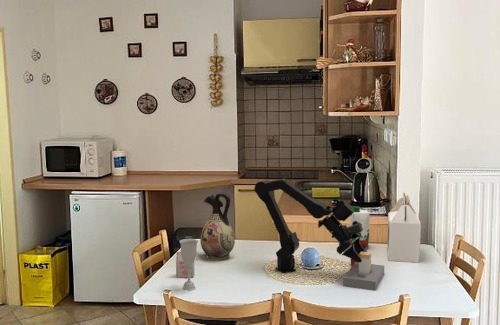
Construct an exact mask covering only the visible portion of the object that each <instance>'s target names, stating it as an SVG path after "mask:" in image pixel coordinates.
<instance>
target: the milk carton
mask: <svg viewBox="0 0 500 325" xmlns="http://www.w3.org/2000/svg"><path fill="white" fill-rule="evenodd" d="M351 206H352V205H351ZM352 207H353V209H354V211H355V212H354V213H353V214H352V215H351V216H349V226H351V225H352V223H353V222H354V221H358V222H360V223H361V224H362V228H363V230H362V232H360V233H359V234H360V236H359V237H363V238H365V239H366V241H367V251H368V249H369V242H370V223H371V222H370V220H371V219H370V218H371V217H370V212H369V211H368V210H367V209H361V206H356V205H354V206H352Z"/></svg>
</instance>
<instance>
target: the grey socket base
mask: <svg viewBox="0 0 500 325" xmlns="http://www.w3.org/2000/svg"><path fill="white" fill-rule="evenodd" d="M384 275H385V265H382V264H375V263H373V264H372V263H371V272H370V274H367V273H359V263H357V262H355V263H354V264H353V266H352V265H351V267H350V268H349V270H348V271H347V273H346V274H345V275H344V276H343V281H342V282H343V287H345V288H354V289H355V288H356V289H361V290H368V291H376V290H377V288H378V286H379V285H380V282H381V280H382V279H383V277H384Z"/></svg>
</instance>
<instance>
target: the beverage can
mask: <svg viewBox="0 0 500 325" xmlns="http://www.w3.org/2000/svg"><path fill="white" fill-rule="evenodd" d="M357 238H359V237H357ZM360 243H361V245H362V247H363V249H364V251H365V252H368V250H367V241H366V239H365V238H363V237H361V238H360ZM357 254H358V255H359V253H358V252H357ZM355 262H357V263H359V262H358V261H355V260H353V259H351V258H350V265H351V267H352V266H353V264H354V263H355Z"/></svg>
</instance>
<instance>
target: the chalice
mask: <svg viewBox="0 0 500 325" xmlns="http://www.w3.org/2000/svg"><path fill="white" fill-rule="evenodd" d="M198 242H199V240H198V239H195V238H184V239H181V240H179V243H180V252H181V256H182V259H183V261H184V263H185V265H186V266H188V269H187V272H188V275H187V277H188V278H187V280H186V281H185V282H184V283H183V285H182V286H183V287H182V291H186V292H189V291H190V292H192V291H194V290H196V288H197V287H196V285H195V283H194V282H193V281H191V278H190V277H191V275H190V272H191V270H190V266H191V265H193V262H194V263H195V260H196V257H197V252H198V251H197V247H198V245H197V244H198Z"/></svg>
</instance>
